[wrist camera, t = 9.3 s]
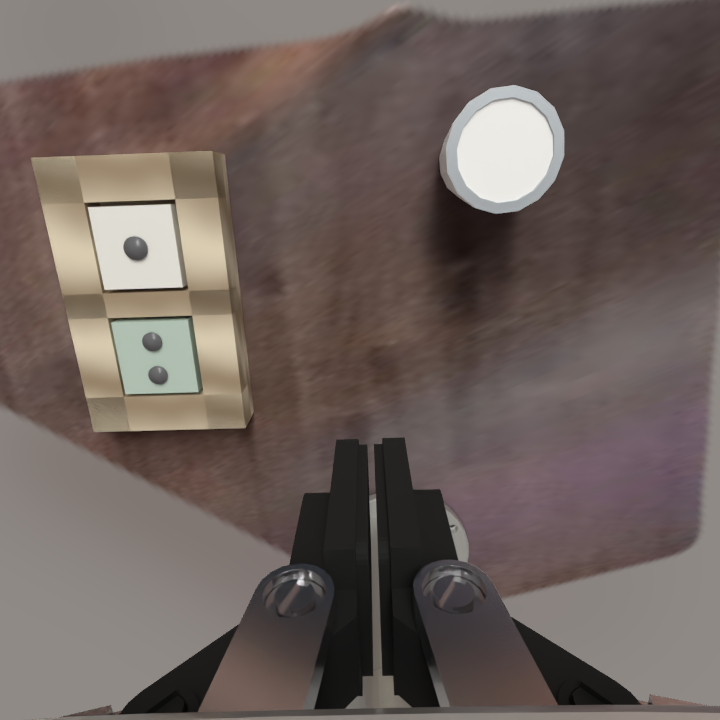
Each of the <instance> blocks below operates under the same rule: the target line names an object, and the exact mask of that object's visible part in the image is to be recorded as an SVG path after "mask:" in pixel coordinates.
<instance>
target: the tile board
mask: <svg viewBox="0 0 720 720" xmlns="http://www.w3.org/2000/svg"><path fill="white" fill-rule="evenodd" d="M31 160H32V164H33V169H34V173H35V177H36V182H37V186H38V191H39V195H40V199H41V204H42V208H43V212H44V217H45V221H46V225H47V230H48V234H49V238H50V243H51V247H52V251H53V256H54V260H55V264H56V269H57V273H58V278H59V282H60V286H61V291H62V295H63V299H64V304H65V308H66V312H67V317H68V321H69V325H70V330H71V334H72V338H73V343H74V347H75V352H76V356H77V360H78V365H79V369H80V373H81V378H82V382H83V386H84V391H85V395H86V399H87V404H88V408H89V412H90V417H91V421H92V425H93V430H94V432H115V431H153V430H190V429H228V428H246V426H247V424H248V422H249V421H250V419H251V417H252V415H253V413H254V408H253V399H252V391H251V382H250V373H249V364H248V355H247V346H246V337H245V329H244V320H243V311H242V302H241V293H240V284H239V275H238V267H237V258H236V249H235V240H234V231H233V222H232V213H231V204H230V196H229V187H228V178H227V169H226V160H225V155H224V154H221V153H218V152H214V151H198V152H171V153H145V154H119V155H93V156H67V157H41V158H31ZM161 204H176V209H177V216H178V222H179V229H180V236H181V243H182V250H183V257H184V263H185V270H186V277H187V284H188V285H186V286H184V287H177V288H146V289H116V290H104V285H103V280H102V275H101V270H100V265H99V260H98V255H97V251H96V246H95V241H94V236H93V231H92V226H91V221H90V216H89V211H88V207H106V206H133V205H161ZM162 316H192V318H193V325H194V332H195V338H196V345H197V352H198V359H199V366H200V372H201V379H202V386H203V388H202V389H201V390H200V391H199V392H188V393H152V394H125V389H124V384H123V379H122V374H121V370H120V365H119V360H118V355H117V350H116V345H115V340H114V335H113V330H112V325H111V323H112V322H114V321H116V320H118V319H120V318H130V317H162Z"/></svg>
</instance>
